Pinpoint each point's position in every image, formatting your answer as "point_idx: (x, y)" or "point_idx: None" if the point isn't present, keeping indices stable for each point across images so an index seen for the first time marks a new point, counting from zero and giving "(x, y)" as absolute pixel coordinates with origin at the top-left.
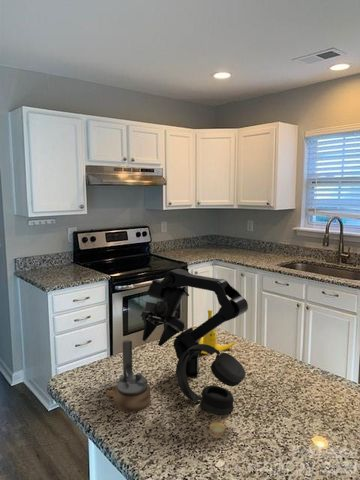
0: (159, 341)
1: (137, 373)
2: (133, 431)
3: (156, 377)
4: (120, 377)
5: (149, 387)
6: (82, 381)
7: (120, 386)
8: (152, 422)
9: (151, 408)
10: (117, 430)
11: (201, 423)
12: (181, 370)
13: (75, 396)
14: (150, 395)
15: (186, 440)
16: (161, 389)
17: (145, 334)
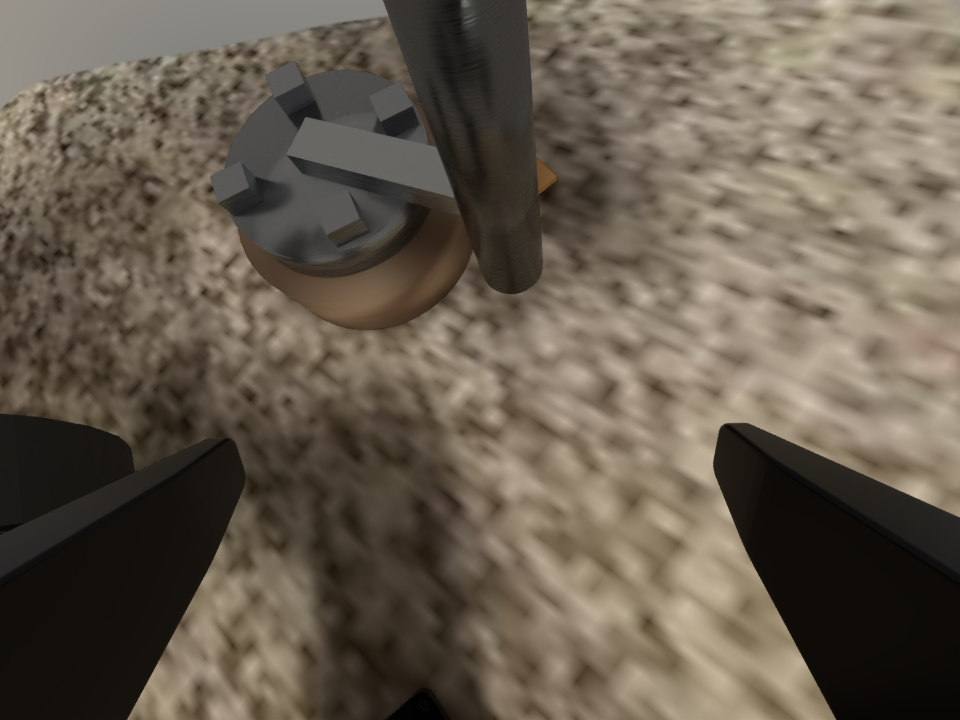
0: (179, 465)
1: (351, 208)
2: (193, 142)
3: (526, 516)
4: (391, 86)
5: (283, 285)
6: (790, 84)
7: (328, 76)
8: (177, 230)
9: (259, 281)
10: (245, 95)
11: (8, 403)
12: (57, 507)
13: (627, 18)
14: (296, 301)
15: (2, 279)
16: (366, 439)
17: (795, 504)
